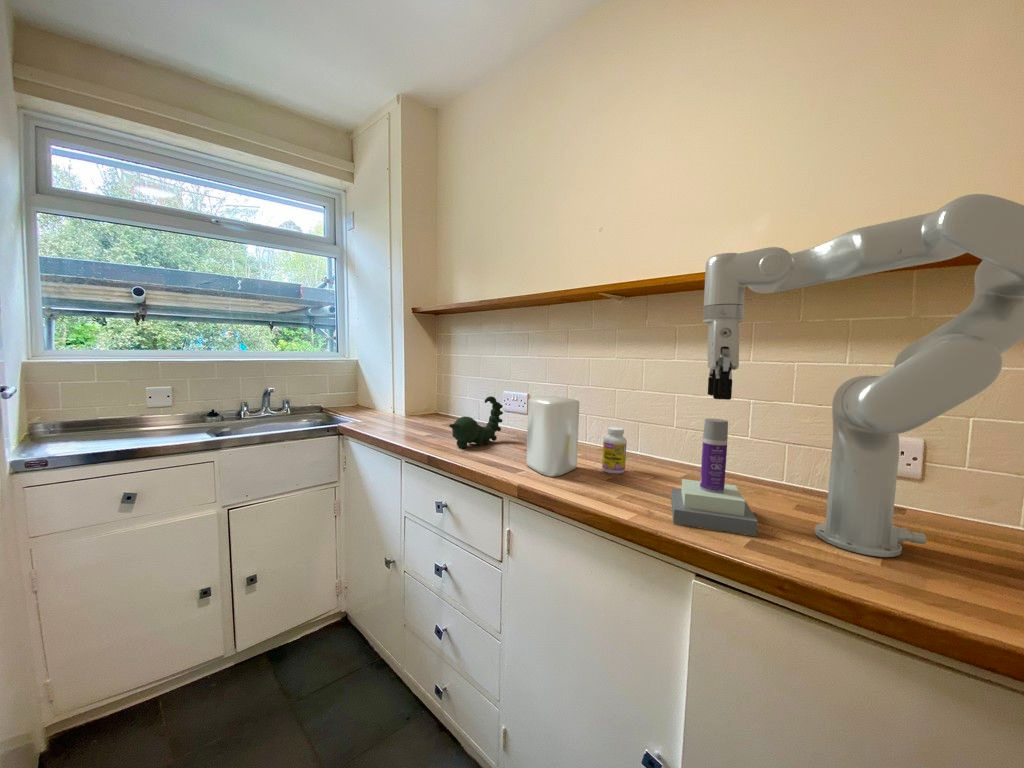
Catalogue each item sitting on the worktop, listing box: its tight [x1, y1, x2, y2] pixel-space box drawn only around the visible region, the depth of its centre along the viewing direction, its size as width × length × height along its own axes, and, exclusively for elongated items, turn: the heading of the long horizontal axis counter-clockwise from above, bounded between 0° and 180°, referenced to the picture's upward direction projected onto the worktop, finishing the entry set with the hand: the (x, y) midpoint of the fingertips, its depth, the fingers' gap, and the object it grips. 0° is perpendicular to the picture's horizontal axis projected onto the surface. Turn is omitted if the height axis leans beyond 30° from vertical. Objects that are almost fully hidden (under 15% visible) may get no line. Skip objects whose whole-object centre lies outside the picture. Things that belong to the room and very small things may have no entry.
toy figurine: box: [448, 395, 504, 449], centre depth 151 cm, size 9×19×25 cm
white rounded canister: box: [525, 395, 580, 478], centre depth 120 cm, size 15×14×22 cm
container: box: [699, 418, 729, 493], centre depth 88 cm, size 5×5×15 cm
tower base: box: [670, 478, 759, 537], centre depth 88 cm, size 15×15×6 cm
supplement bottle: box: [601, 426, 628, 475], centre depth 122 cm, size 7×7×13 cm
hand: (718, 397), depth 87 cm, fingers open, 9 cm apart
